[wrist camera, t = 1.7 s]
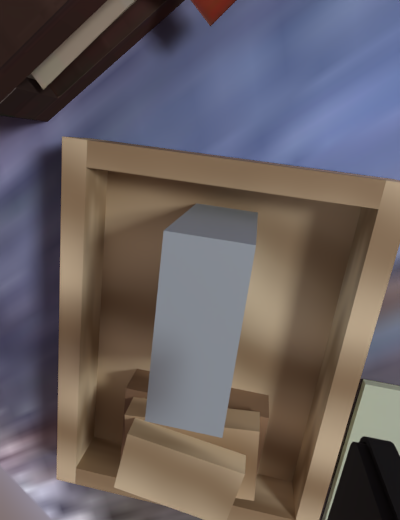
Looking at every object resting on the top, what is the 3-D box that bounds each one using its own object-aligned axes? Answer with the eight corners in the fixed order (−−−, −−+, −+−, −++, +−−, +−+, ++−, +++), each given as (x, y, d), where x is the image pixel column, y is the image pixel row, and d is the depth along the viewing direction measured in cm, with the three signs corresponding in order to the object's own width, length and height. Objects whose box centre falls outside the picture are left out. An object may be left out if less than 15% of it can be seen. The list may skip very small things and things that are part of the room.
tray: (306, 495, 24) (312, 541, 21) (79, 443, 26) (56, 479, 23) (392, 179, 18) (416, 184, 16) (90, 138, 20) (62, 136, 17)
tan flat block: (254, 462, 24) (253, 489, 22) (131, 435, 25) (120, 459, 23) (268, 395, 22) (269, 418, 20) (137, 368, 23) (125, 388, 21)
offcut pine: (226, 505, 21) (224, 526, 19) (121, 469, 21) (113, 487, 20) (246, 455, 19) (244, 474, 18) (135, 417, 20) (127, 434, 19)
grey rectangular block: (234, 350, 22) (222, 438, 15) (179, 339, 22) (144, 421, 15) (257, 212, 19) (256, 245, 13) (196, 203, 20) (163, 230, 13)
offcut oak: (254, 477, 22) (254, 500, 20) (135, 460, 23) (127, 481, 21) (259, 412, 20) (259, 431, 19) (133, 397, 21) (124, 414, 20)
